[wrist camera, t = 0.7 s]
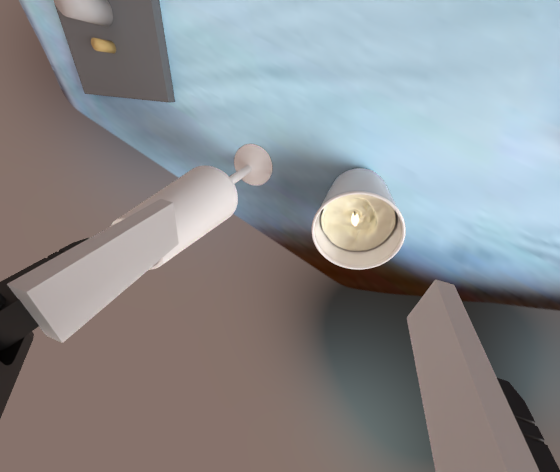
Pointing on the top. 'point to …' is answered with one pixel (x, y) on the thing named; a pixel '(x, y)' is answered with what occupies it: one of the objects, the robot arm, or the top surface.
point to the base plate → (118, 47)
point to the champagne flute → (208, 196)
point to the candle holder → (358, 221)
